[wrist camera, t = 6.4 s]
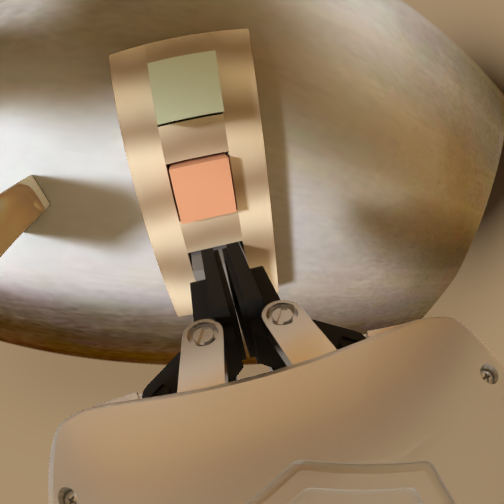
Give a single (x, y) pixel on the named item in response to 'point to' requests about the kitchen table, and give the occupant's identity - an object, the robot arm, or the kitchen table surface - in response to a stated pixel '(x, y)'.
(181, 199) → the terracotta key
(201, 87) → the sage key
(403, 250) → the kitchen table surface
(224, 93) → the board
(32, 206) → the skincare box
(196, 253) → the charcoal key
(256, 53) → the kitchen table surface
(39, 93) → the kitchen table surface
